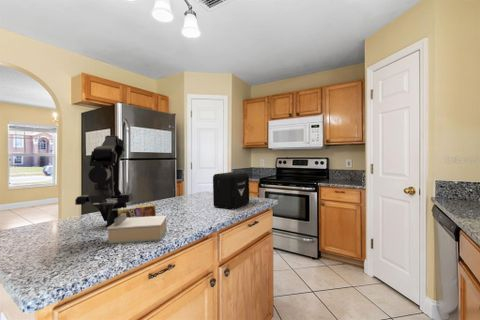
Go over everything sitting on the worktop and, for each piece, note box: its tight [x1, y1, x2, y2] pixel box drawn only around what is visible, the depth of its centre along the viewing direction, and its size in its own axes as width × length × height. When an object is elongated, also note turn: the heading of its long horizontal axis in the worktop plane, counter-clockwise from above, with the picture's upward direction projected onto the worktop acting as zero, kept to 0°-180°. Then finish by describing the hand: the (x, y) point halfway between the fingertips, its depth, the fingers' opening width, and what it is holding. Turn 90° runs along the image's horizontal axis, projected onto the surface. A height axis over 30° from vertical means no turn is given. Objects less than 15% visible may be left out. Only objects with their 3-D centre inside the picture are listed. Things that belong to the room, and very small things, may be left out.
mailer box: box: [107, 218, 168, 245], centre depth 91 cm, size 18×13×5 cm
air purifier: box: [212, 171, 250, 210], centre depth 144 cm, size 20×15×20 cm
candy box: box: [118, 203, 157, 218], centre depth 104 cm, size 9×4×15 cm
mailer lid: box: [106, 213, 168, 230], centre depth 91 cm, size 19×14×3 cm
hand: (106, 221), depth 90 cm, fingers closed
